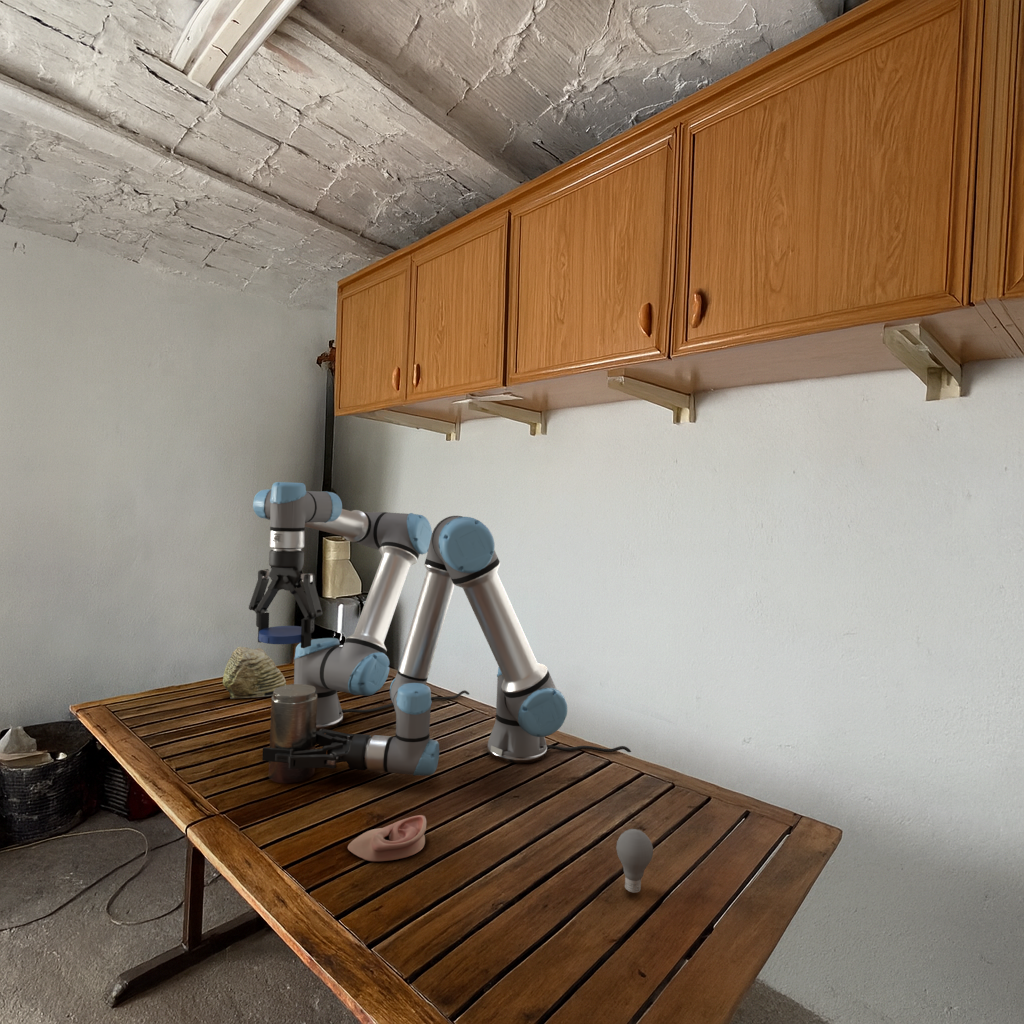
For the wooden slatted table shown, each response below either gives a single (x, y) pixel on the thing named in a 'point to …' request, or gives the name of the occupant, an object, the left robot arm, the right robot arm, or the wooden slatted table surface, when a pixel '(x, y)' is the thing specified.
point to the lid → (280, 635)
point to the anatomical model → (391, 840)
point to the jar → (292, 728)
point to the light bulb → (634, 857)
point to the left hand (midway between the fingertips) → (284, 644)
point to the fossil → (251, 674)
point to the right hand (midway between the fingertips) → (274, 744)
